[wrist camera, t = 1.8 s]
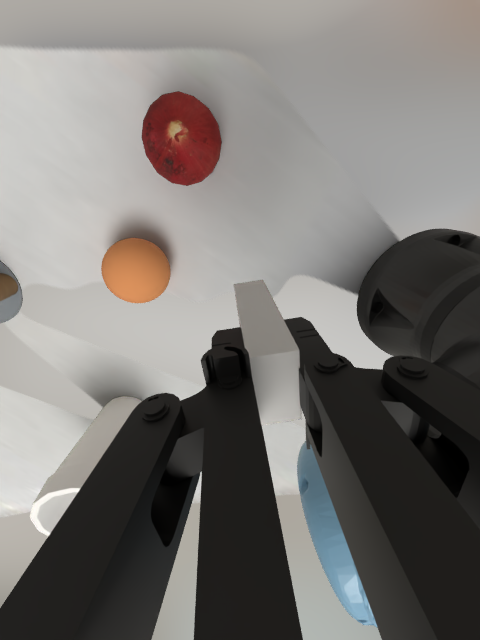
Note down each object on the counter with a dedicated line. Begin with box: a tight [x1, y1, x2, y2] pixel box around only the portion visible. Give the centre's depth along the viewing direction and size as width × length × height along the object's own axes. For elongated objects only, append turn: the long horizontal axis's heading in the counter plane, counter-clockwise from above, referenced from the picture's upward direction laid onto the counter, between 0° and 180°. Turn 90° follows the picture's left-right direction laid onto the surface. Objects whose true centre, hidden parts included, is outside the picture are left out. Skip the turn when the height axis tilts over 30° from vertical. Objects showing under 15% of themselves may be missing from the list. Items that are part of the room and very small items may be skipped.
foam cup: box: [30, 396, 142, 536], centre depth 30 cm, size 10×9×13 cm
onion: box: [142, 91, 222, 186], centre depth 20 cm, size 6×6×8 cm
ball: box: [101, 238, 170, 303], centre depth 25 cm, size 6×6×6 cm
